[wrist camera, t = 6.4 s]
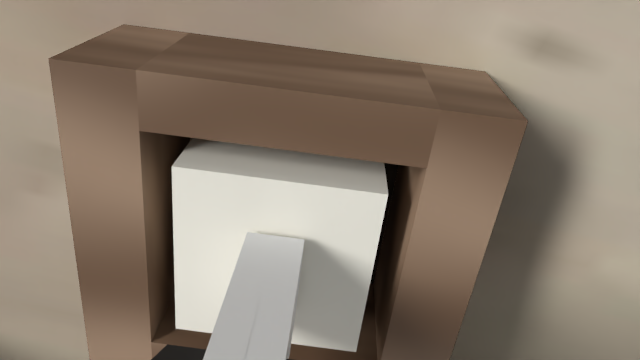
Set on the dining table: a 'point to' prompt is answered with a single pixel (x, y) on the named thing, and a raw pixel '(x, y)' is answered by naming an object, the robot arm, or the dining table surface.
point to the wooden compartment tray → (287, 134)
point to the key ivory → (277, 231)
